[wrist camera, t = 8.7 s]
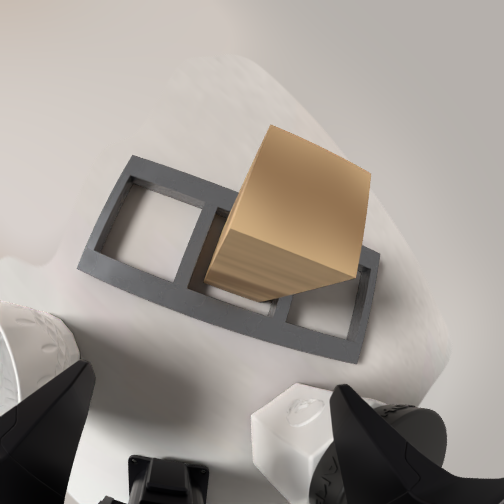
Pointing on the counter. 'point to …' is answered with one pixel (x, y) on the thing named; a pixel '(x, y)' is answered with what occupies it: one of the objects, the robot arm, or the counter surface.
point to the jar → (325, 442)
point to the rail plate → (176, 293)
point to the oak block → (292, 222)
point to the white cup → (31, 351)
